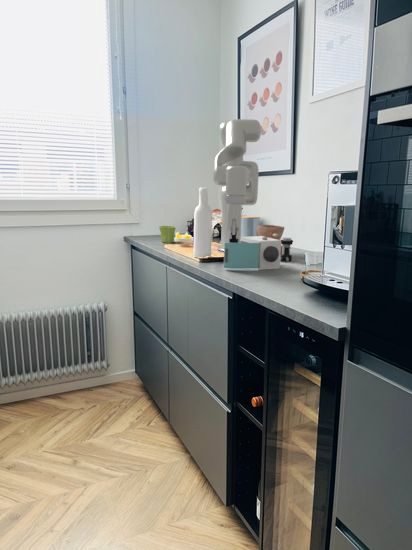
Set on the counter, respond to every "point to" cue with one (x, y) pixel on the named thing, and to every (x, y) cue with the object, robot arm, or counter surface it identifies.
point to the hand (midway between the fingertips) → (233, 249)
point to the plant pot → (167, 233)
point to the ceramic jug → (270, 232)
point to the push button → (286, 250)
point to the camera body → (266, 251)
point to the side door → (242, 255)
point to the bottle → (202, 226)
